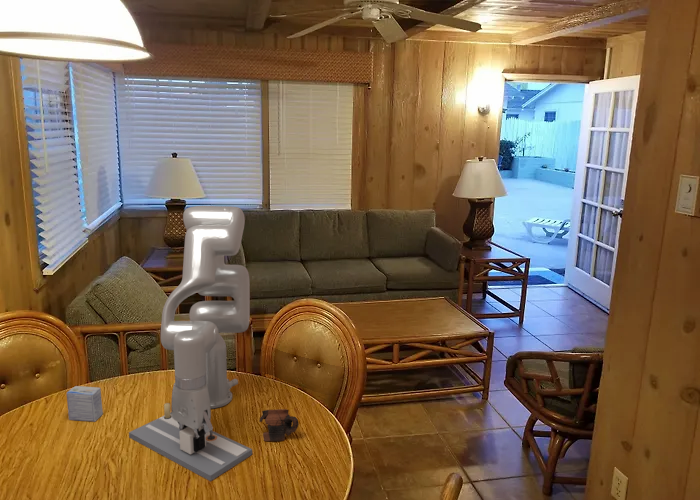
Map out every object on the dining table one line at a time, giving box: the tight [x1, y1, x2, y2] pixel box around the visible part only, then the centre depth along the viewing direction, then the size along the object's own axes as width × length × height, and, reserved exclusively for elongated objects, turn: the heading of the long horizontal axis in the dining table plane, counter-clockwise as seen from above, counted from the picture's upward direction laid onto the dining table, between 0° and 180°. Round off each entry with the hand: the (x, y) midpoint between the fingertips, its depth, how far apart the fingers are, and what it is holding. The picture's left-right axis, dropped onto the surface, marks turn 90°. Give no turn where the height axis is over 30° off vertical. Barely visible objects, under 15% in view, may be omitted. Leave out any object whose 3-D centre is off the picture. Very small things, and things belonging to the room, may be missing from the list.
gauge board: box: [128, 402, 253, 482], centre depth 146 cm, size 14×32×6 cm, turn 56°
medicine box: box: [66, 385, 104, 422], centre depth 158 cm, size 8×4×9 cm, turn 84°
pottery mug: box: [259, 408, 300, 442], centre depth 153 cm, size 12×10×8 cm
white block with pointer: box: [179, 427, 213, 454], centre depth 143 cm, size 9×4×5 cm, turn 146°
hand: (193, 445), depth 142 cm, fingers closed on white block with pointer, 4 cm apart
